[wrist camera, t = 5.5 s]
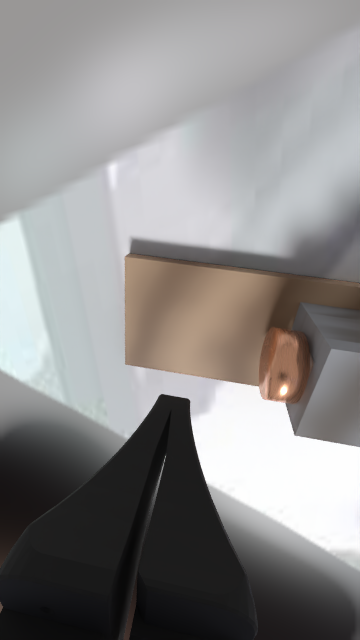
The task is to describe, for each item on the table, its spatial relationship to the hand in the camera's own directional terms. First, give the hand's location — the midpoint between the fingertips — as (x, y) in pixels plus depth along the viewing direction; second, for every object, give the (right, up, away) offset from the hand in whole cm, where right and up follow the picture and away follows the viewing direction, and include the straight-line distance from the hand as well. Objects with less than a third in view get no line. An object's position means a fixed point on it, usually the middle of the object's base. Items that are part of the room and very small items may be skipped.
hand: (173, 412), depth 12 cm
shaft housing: (+6, +3, +8) cm, 11 cm away
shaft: (+10, +2, +6) cm, 12 cm away
